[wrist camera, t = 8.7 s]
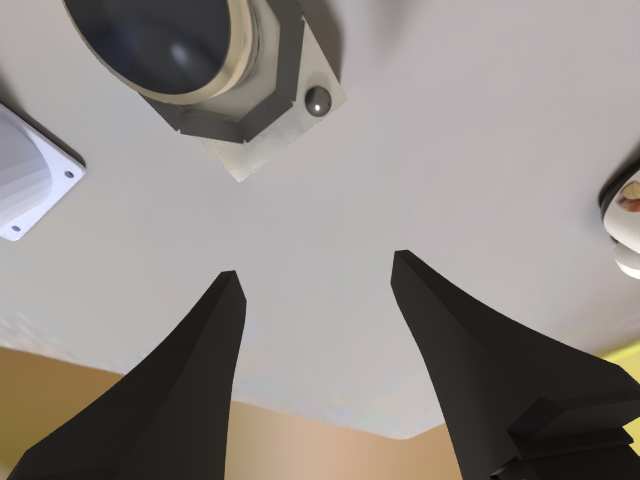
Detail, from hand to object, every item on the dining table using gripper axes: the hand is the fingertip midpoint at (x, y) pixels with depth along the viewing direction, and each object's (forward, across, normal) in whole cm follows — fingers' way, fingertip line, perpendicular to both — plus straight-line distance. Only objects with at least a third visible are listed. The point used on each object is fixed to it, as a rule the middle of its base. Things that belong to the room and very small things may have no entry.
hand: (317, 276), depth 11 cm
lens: (+7, +4, -9) cm, 12 cm away
